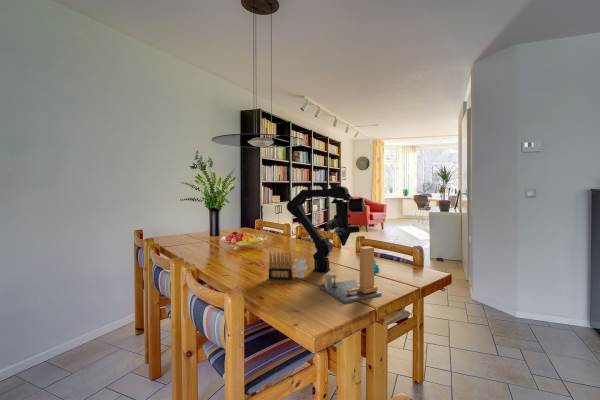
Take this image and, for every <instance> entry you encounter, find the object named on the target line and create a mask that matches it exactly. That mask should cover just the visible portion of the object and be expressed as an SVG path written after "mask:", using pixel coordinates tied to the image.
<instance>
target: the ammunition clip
mask: <svg viewBox="0 0 600 400" xmlns="http://www.w3.org/2000/svg"><path fill="white" fill-rule="evenodd" d="M268 257H269V258H268V260H269V261H268V280H275V281H277V280H278V281H292V280H293V279H294V278H293V260H292V254H291V252H289V254H288V253H287V252H285V253H283V252H281V255H280V252H277V255H276V253H275V252H274V253H273V254H272V252H269V256H268Z"/></svg>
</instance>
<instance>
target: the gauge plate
mask: <svg viewBox="0 0 600 400" xmlns="http://www.w3.org/2000/svg"><path fill="white" fill-rule="evenodd" d="M332 279H333V282H332ZM336 279H337V274H326V275H324V284H322V285H320V286H319V289H320V290H323V291H324V292H325V293H327V294H328V295H330V296H332V297H334V298H335V299H336V300H339V301H340V302H341V303H343V304H350V303H355V302H358V301H363V300H368V299H371V298H375V297H379V296H382V292H381V291H378V290H377V291H375V292H370V293H366V294H365V293H363V292H361V291H358V292H353V293H350V294H348V293H347V290H348V289H353V288H357V285H360V281H358V280H355V279H349V280H344V281H336Z"/></svg>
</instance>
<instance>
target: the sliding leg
mask: <svg viewBox="0 0 600 400" xmlns="http://www.w3.org/2000/svg"><path fill="white" fill-rule="evenodd" d="M374 261H375V247H373V246H368V245H367V246H360V247H359V282H360V285H357V288H353V289H348V290H347V293H348V294H350V293H353V292H358V291H361V292H363V293H365V294H366V293H370V292H375V291H378V286H376V285H375V272H374Z"/></svg>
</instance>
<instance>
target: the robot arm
mask: <svg viewBox="0 0 600 400" xmlns="http://www.w3.org/2000/svg"><path fill="white" fill-rule="evenodd" d="M326 197H327V198H328V197H329V198H333V199H332V201H331V202H330V203H331V204H335V214H334V215H333V219H330V220H328V221H326V222H325V223H324V224H325V227H326V230H329V231H333V230H334V231H333V232H334V233H336V234H337V236H338V238H339V241H340V244H341V246H343V247H344V246H346V244H347V241H348V239H349V237H350V235H351V233H353V234H354V233H360V229H361V228H360V227H359V225H355V224H352V225H351V223H350V222H349V221H350V220H349V218H350V217H351V214H349V212H351V213H354V214H355V213H359V214H360V213H362V214H363V213H365V207H366V205H365V201H364V197H358V198H353V196H352V195H351V194H350V193H349V189H348V188H347V187H346V186H343V185H340V186H339V185H338V186H334V187H331V188H327V189H325V188H322V189H302V190H300V191H299V193H297V195H296V196H294V197H293V198H292V200H289V201H288V202H287V204H286V210H287V211H288V212H289V214H291V215H292V216H294V217H295V218H296V219H297V220H298V221H299V223H300V224H301V226H302V227H303V229H305V231H306V233H308V236H309V237H310V238H311V239H312V241H313V243H314V247H315V249H316V252H314V253H313V254H312V257H313V260H314V264H313V265H314V268H313V269H312V271H314V272H319V273H326V272H328V271H331V268H330V261H329V255H330V254H331V253H332V252H333V245H332V244H333V243H332V242H331V241H330V240H329V238H328V237H327V236H326V237H323V236H322V235H321V234H320V232H319V231H318V229H317V228H316V227H315V225H314V223H313V222H312V221H311V220H310V218H309V217H308V215H307V214H306V211H305V207H304V206H303V205H304V204H305V202H306V201H307V199H308V198H326Z"/></svg>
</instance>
